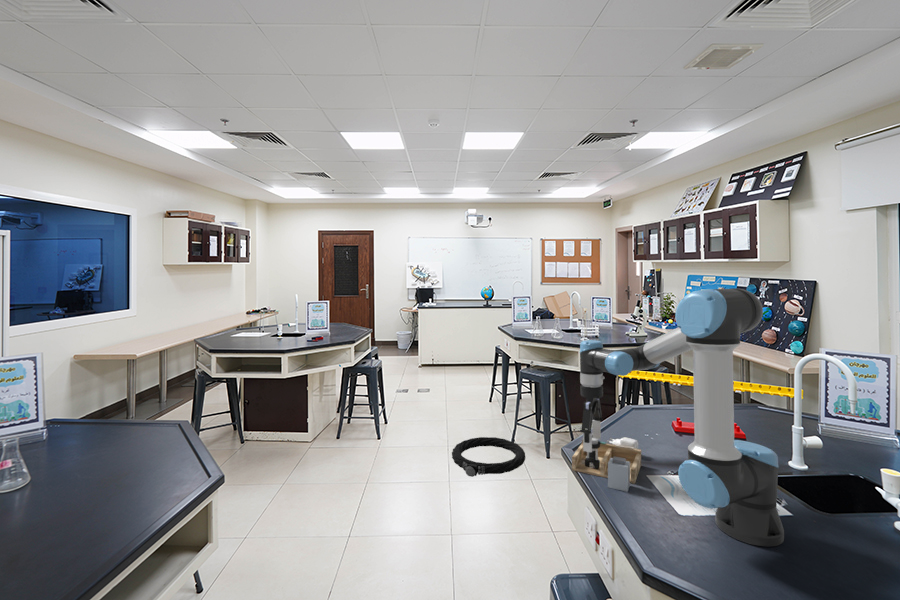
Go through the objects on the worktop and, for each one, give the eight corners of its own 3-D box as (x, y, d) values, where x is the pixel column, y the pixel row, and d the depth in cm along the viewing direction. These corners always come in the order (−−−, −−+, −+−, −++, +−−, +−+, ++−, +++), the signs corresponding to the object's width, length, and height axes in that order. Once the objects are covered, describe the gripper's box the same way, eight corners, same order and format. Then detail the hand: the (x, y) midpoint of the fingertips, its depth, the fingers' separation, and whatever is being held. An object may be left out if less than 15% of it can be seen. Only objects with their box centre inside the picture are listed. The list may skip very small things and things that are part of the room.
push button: (578, 467, 152) (578, 439, 151) (583, 461, 156) (583, 434, 155) (598, 471, 148) (598, 443, 147) (602, 465, 152) (602, 438, 152)
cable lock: (534, 442, 167) (508, 475, 141) (534, 452, 168) (508, 486, 141) (470, 431, 180) (434, 458, 154) (470, 440, 181) (434, 469, 154)
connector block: (627, 491, 136) (628, 463, 135) (607, 487, 139) (607, 459, 138) (629, 485, 140) (630, 458, 139) (610, 481, 143) (610, 454, 142)
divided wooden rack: (634, 484, 141) (634, 465, 140) (571, 470, 151) (571, 453, 151) (640, 465, 154) (641, 448, 154) (582, 453, 164) (583, 438, 164)
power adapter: (605, 450, 168) (605, 435, 167) (610, 446, 171) (611, 432, 170) (633, 458, 159) (634, 443, 159) (639, 454, 163) (639, 439, 162)
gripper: (594, 394, 138) (595, 459, 139) (609, 378, 159) (610, 435, 160) (571, 391, 142) (571, 455, 143) (589, 376, 163) (589, 431, 164)
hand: (592, 444), depth 152 cm, fingers open, 13 cm apart
